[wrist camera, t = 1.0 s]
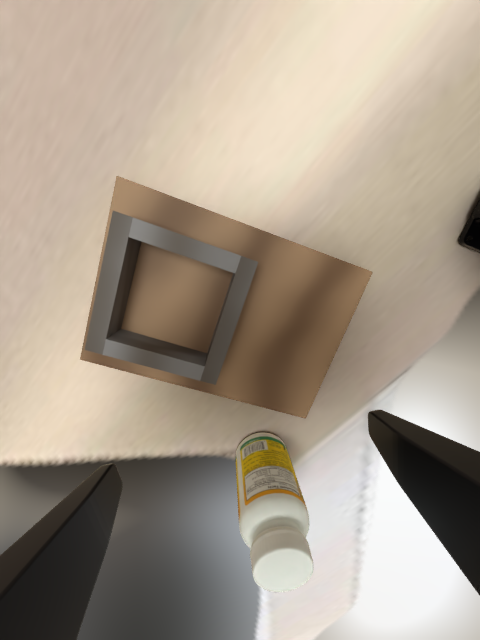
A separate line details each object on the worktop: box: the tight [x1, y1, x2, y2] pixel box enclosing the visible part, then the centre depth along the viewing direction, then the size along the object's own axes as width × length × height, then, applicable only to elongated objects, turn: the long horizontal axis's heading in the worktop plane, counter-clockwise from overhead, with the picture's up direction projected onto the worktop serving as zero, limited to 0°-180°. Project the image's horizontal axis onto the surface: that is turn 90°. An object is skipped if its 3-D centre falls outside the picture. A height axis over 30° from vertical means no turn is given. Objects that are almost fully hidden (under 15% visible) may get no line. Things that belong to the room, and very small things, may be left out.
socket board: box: [80, 176, 372, 418], centre depth 19 cm, size 20×14×4 cm
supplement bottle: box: [235, 433, 314, 592], centre depth 20 cm, size 5×5×10 cm
